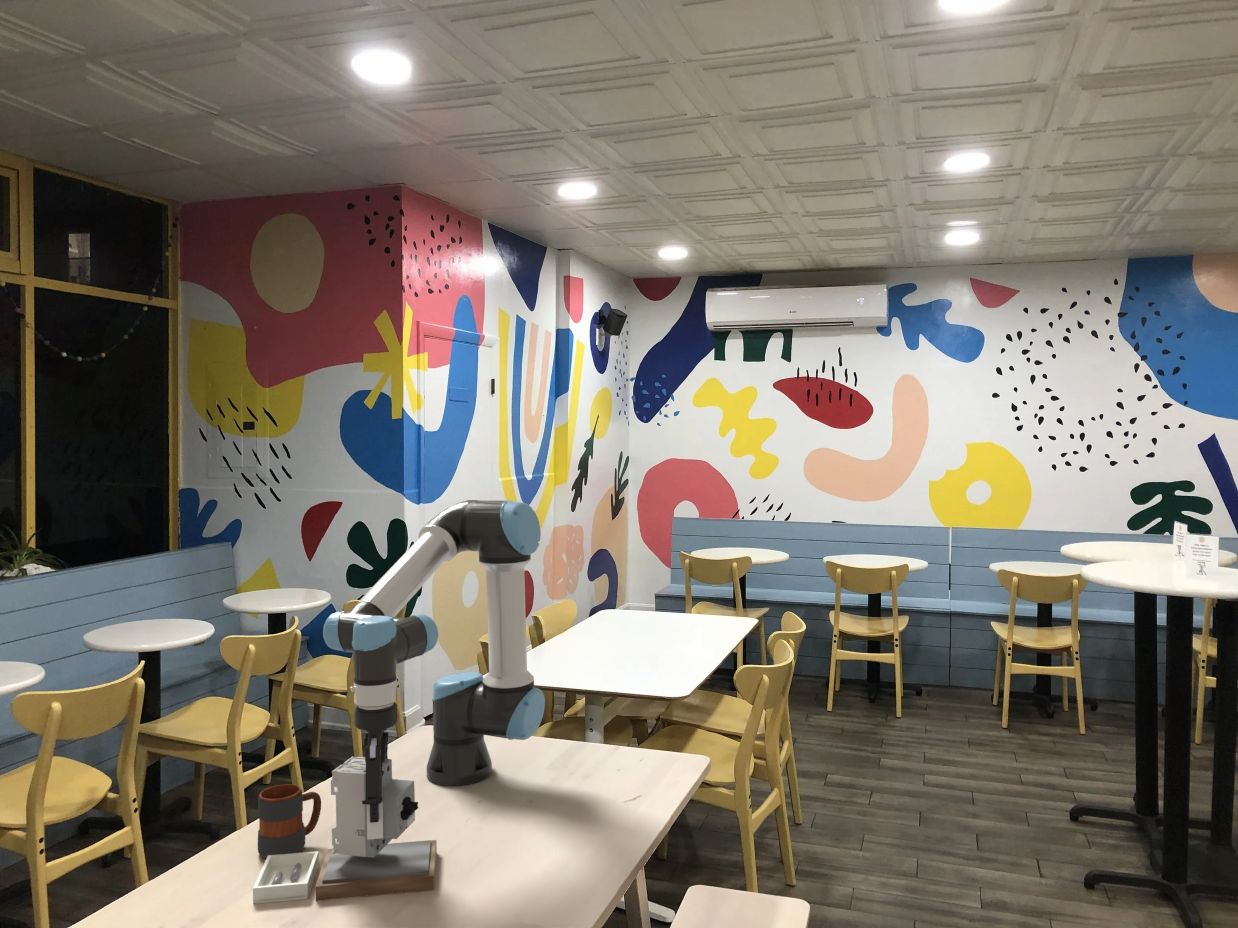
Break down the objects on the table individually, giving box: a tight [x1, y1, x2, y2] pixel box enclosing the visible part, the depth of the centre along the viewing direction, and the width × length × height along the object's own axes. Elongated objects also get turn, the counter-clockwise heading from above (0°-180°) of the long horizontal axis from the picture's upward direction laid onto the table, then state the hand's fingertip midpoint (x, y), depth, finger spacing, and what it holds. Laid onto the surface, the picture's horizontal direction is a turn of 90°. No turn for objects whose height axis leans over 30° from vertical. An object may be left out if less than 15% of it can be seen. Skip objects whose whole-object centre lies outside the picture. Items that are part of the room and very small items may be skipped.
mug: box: [257, 783, 322, 860], centre depth 175 cm, size 9×12×12 cm
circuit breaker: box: [330, 755, 419, 858], centre depth 163 cm, size 8×14×15 cm, turn 79°
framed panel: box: [315, 839, 438, 902], centre depth 164 cm, size 14×20×3 cm
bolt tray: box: [252, 850, 320, 904], centre depth 161 cm, size 12×9×3 cm
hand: (378, 825), depth 163 cm, fingers closed on circuit breaker, 9 cm apart
